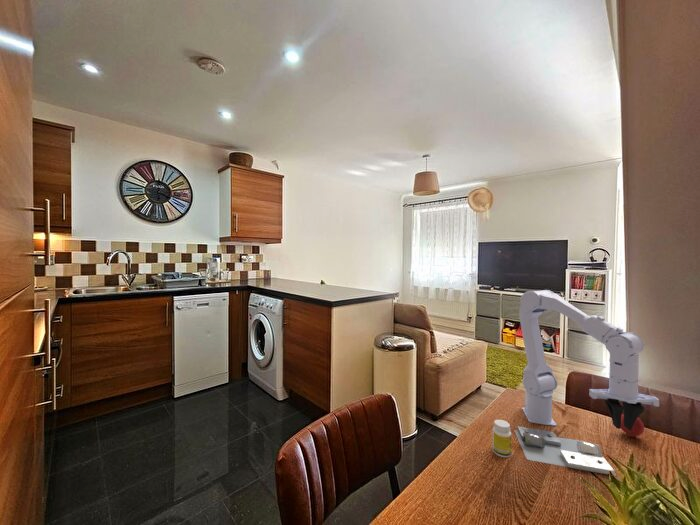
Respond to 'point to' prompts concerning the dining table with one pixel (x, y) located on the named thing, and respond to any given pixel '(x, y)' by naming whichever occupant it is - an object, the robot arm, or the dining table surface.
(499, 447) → the supplement bottle
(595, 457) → the loose leaf
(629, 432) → the onion
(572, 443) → the mat
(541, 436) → the fixed leaf
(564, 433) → the dining table surface
